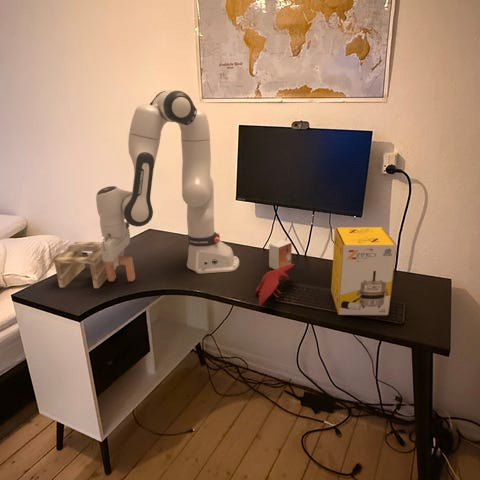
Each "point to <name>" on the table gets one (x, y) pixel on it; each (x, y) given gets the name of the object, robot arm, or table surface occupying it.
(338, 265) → the packaging box
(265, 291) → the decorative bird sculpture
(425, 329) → the table surface
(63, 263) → the wooden stand
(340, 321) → the table surface
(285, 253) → the small box
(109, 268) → the arch block
